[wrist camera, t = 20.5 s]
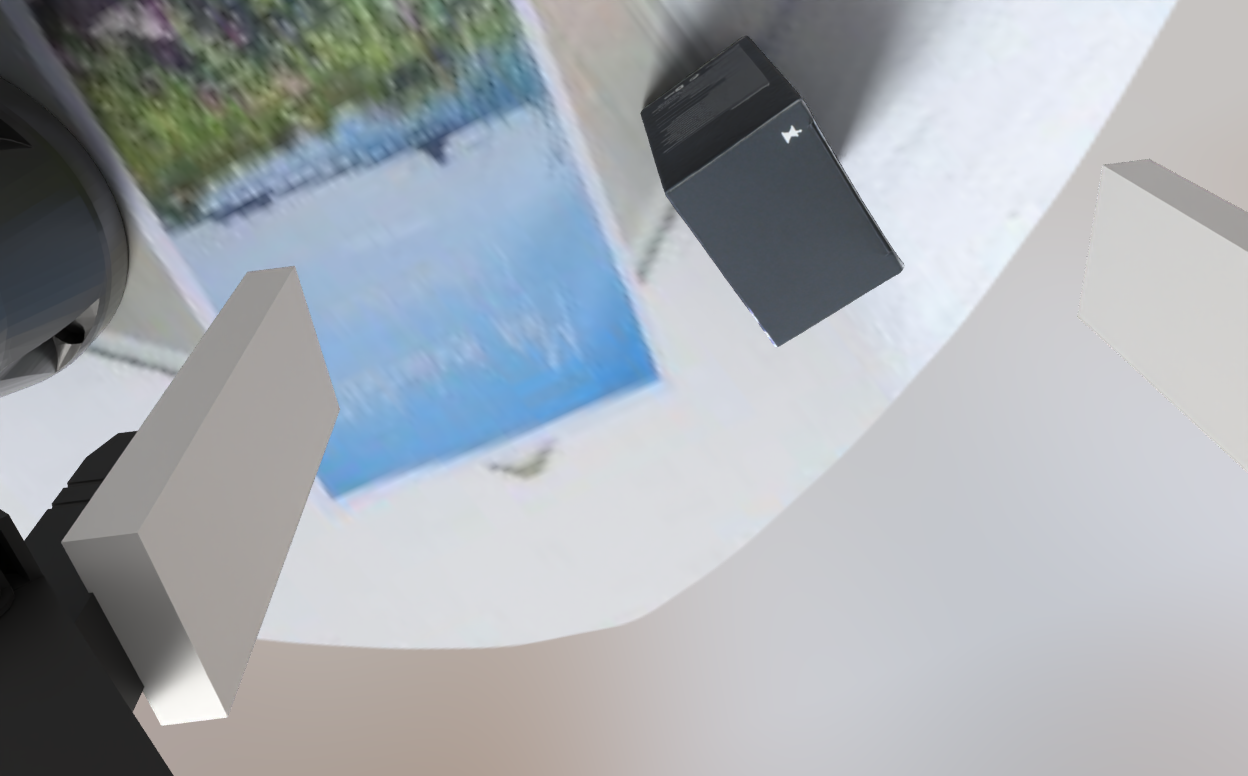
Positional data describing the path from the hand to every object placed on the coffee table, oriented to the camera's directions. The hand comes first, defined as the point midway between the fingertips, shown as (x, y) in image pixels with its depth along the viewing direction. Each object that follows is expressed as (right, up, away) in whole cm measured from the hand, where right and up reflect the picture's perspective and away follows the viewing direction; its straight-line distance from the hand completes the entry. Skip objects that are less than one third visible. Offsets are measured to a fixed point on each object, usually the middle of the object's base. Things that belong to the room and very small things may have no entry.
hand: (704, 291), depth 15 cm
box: (+4, +9, +26) cm, 28 cm away
